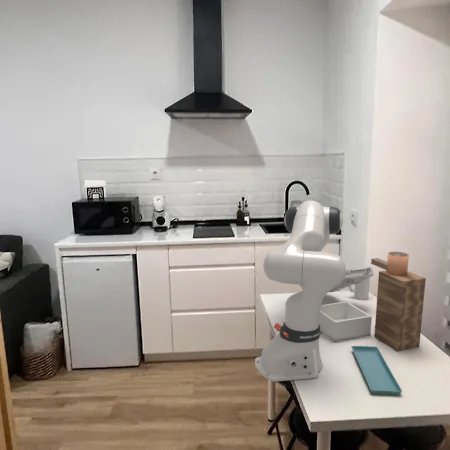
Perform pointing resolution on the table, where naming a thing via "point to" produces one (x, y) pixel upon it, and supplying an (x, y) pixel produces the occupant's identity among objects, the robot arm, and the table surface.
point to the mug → (361, 289)
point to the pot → (394, 263)
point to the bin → (344, 322)
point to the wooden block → (399, 310)
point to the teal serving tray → (376, 370)
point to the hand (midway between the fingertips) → (360, 270)
